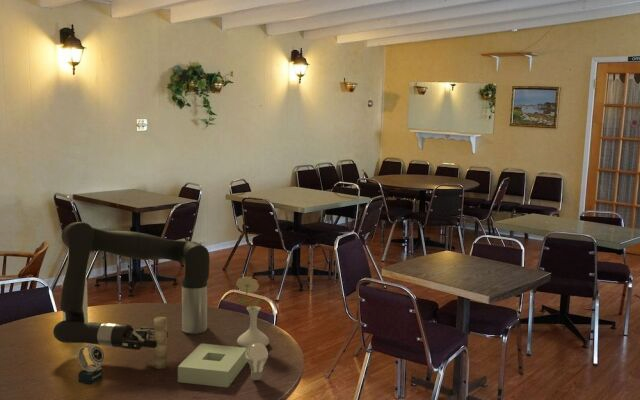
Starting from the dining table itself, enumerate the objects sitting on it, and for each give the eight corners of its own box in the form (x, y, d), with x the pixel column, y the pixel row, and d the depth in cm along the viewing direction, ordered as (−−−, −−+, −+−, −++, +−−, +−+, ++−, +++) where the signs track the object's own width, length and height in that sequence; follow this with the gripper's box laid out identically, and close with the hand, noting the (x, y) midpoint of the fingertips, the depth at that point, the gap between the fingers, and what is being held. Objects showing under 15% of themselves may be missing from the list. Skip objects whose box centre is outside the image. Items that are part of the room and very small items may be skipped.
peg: (157, 363, 213) (157, 316, 211) (169, 364, 212) (168, 317, 210) (152, 368, 209) (151, 320, 207) (164, 369, 208) (163, 321, 206)
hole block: (201, 357, 219) (201, 343, 218) (247, 362, 216) (247, 347, 215) (177, 382, 199) (177, 366, 198) (228, 387, 196) (228, 371, 196)
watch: (95, 386, 195) (94, 350, 193) (73, 381, 198) (72, 346, 196) (107, 378, 200) (107, 344, 198) (86, 374, 203) (85, 340, 201)
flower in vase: (274, 343, 233) (276, 275, 230) (258, 354, 223) (260, 283, 220) (243, 337, 239) (244, 271, 235) (226, 347, 229) (227, 278, 225)
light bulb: (245, 375, 205) (246, 339, 203) (267, 375, 206) (268, 339, 204) (244, 385, 198) (245, 347, 196) (267, 385, 199) (268, 347, 197)
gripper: (104, 331, 205) (152, 336, 202) (125, 317, 218) (170, 321, 216) (104, 354, 206) (152, 359, 203) (125, 338, 220) (171, 343, 217)
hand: (162, 339), depth 209 cm, fingers open, 8 cm apart
